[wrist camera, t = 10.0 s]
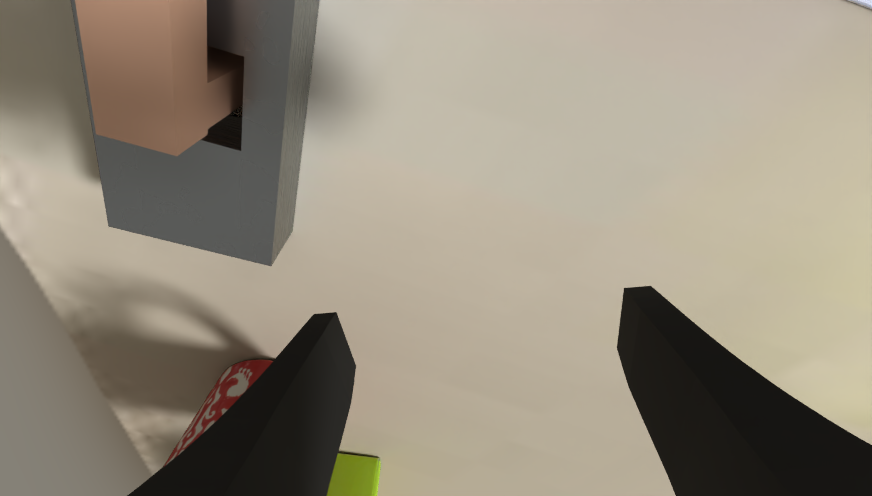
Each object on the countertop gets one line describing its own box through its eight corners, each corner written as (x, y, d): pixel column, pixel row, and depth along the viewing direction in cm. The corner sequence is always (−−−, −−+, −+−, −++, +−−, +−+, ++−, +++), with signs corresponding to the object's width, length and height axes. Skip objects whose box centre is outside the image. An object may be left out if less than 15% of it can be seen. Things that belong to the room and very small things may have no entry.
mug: (315, 447, 33) (242, 698, 22) (195, 408, 31) (46, 664, 20) (384, 347, 27) (330, 630, 15) (238, 289, 24) (53, 570, 13)
